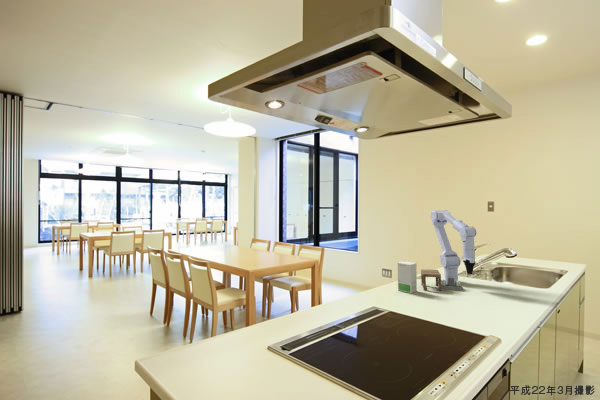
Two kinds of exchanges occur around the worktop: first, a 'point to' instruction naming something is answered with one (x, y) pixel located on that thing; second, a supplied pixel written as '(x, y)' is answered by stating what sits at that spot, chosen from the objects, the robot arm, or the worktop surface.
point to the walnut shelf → (430, 274)
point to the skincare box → (407, 277)
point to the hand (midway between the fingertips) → (469, 273)
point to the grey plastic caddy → (451, 284)
